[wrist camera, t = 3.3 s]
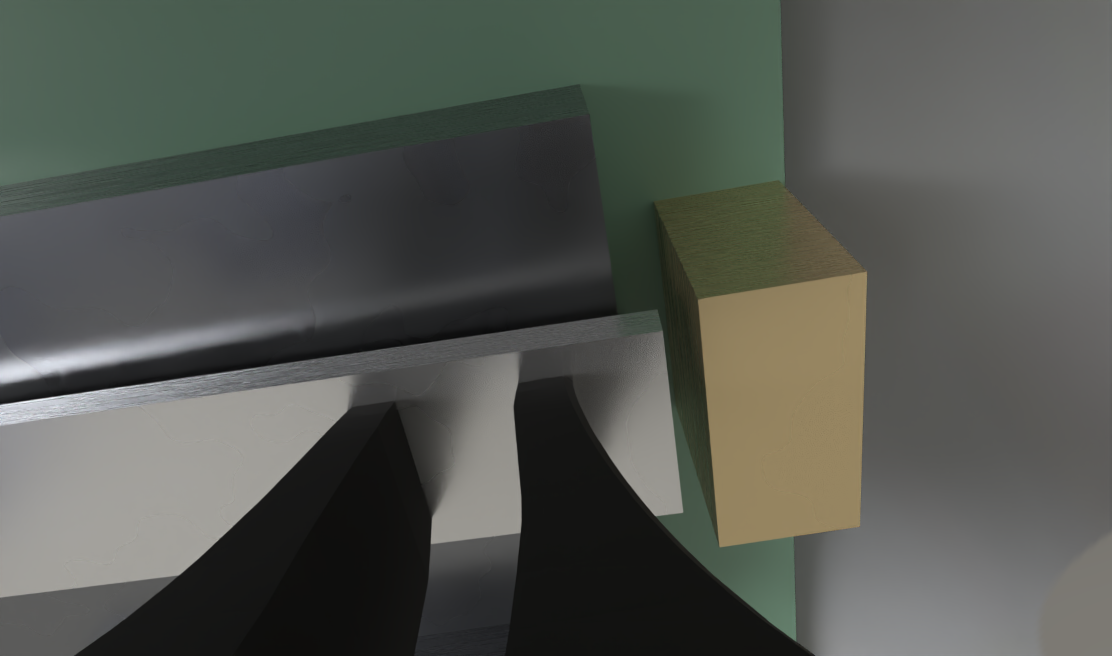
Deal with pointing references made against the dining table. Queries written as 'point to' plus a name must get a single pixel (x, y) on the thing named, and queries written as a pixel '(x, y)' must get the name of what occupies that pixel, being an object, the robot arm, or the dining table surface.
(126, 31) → the circuit board
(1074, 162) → the dining table surface
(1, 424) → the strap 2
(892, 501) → the dining table surface
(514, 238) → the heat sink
